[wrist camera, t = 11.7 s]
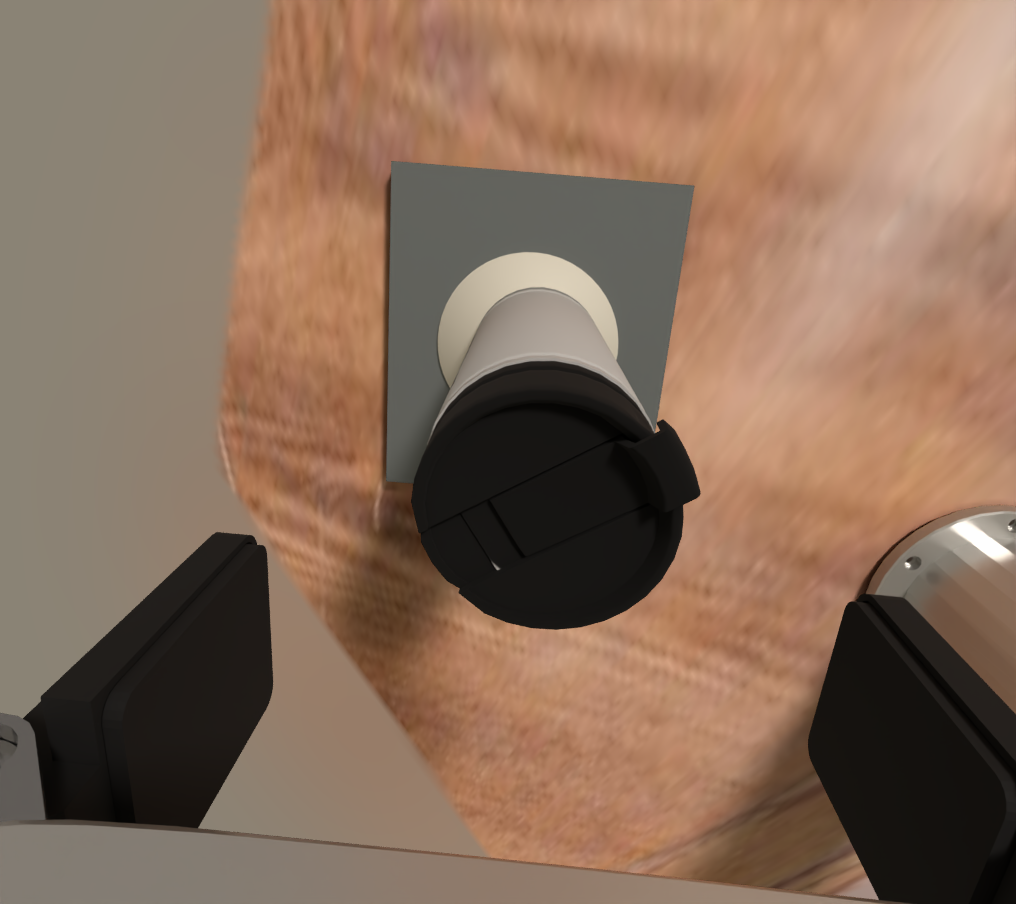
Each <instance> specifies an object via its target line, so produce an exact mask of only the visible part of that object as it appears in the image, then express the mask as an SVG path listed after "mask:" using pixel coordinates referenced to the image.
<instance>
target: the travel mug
mask: <svg viewBox="0 0 1016 904" xmlns="http://www.w3.org/2000/svg"><path fill="white" fill-rule="evenodd" d="M657 425H658V427H659V429H660V431H659V432H657V433H655V432H654V429H653V426H652V424H651V421H650V419H649V417H648V416H647V414H646V413H645V410H644V409H643V407H642V405H641V403H640V402H639V400H638V398H637V396H636V395H635V393H634V391H633V389H632V388H631V386H630V384H629V382H628V380H627V379H626V377H625V375H624V373H623V372H622V370H621V368H620V366H619V365H618V363H617V361H616V359H615V358H614V356H613V354H612V352H611V351H610V349H609V347H608V345H607V344H606V342H605V340H604V338H603V337H602V335H601V333H600V331H599V330H598V328H597V326H596V324H595V323H594V321H593V319H592V318H591V316H590V315H589V313H588V312H587V310H586V309H585V308H584V307H583V306H582V305H581V304H580V303H579V302H578V301H577V300H575V299H574V298H572V297H571V296H569V295H568V294H565V293H563V292H560V291H558V290H555V289H550V288H545V287H530V288H525V289H521V290H517V291H515V292H512V293H510V294H508V295H506V296H504V297H503V298H502V299H500V300H499V301H497V302H496V303H495V304H494V305H493V306H492V307H491V308H490V309H489V310H488V311H487V313H486V314H485V316H484V317H483V319H482V321H481V322H480V324H479V327H478V329H477V331H476V333H475V335H474V338H473V340H472V342H471V344H470V346H469V349H468V351H467V353H466V355H465V357H464V360H463V362H462V364H461V366H460V368H459V371H458V373H457V375H456V377H455V379H454V382H453V384H452V386H451V388H450V390H449V393H448V395H447V397H446V399H445V401H444V404H443V406H442V408H441V410H440V412H439V415H438V417H437V419H436V421H435V424H434V426H433V429H432V432H431V434H430V437H429V440H428V443H427V447H426V449H425V452H424V454H423V456H422V459H421V461H420V464H419V467H418V469H417V472H416V475H415V478H414V484H413V491H412V499H411V503H412V507H413V511H414V515H415V519H416V523H417V527H418V532H419V533H421V543H422V545H423V547H424V548H425V550H426V552H427V554H428V556H429V558H430V560H431V562H432V563H433V564H434V566H435V567H436V568H437V569H438V571H439V572H440V573H441V574H442V576H443V577H444V578H445V579H446V580H447V581H448V582H450V583H451V584H453V585H455V586H456V587H458V588H460V589H459V594H461V595H462V596H463V597H464V598H466V599H467V600H468V601H469V602H471V603H472V604H473V605H475V606H476V607H477V608H478V609H480V610H481V611H482V612H483V613H485V614H487V615H490V616H492V617H495V618H497V619H500V620H502V621H505V622H507V623H511V624H516V625H520V626H525V627H529V628H539V629H555V630H557V629H568V628H578V627H583V626H587V625H591V624H595V623H598V622H602V621H605V620H607V619H609V618H612V617H614V616H616V615H618V614H620V613H622V612H624V611H626V610H628V609H629V608H631V607H632V606H633V605H635V604H636V603H638V602H639V601H640V600H642V599H643V598H644V597H646V596H647V595H648V594H649V593H650V591H651V590H652V589H653V588H654V587H655V586H656V585H657V584H658V583H659V582H660V581H661V580H662V578H663V577H664V575H665V573H666V572H667V570H668V568H669V567H670V565H671V563H672V562H673V560H674V558H675V555H676V552H677V549H678V546H679V543H680V540H681V537H682V528H683V505H684V504H686V503H688V502H690V501H692V500H694V499H696V498H698V497H699V496H700V489H699V485H698V481H697V477H696V474H695V470H694V468H693V465H692V463H691V461H690V459H689V456H688V454H687V452H686V450H685V448H684V446H683V444H682V442H681V440H680V439H679V437H678V435H677V433H676V431H675V430H674V429H673V428H672V427H671V426H670V425H669V424H668V423H667V422H666V421H665V420H661V421H659V422H657Z"/></svg>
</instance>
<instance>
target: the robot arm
mask: <svg viewBox="0 0 1016 904" xmlns="http://www.w3.org/2000/svg"><path fill="white" fill-rule="evenodd" d="M268 587H269V586H268V566H267V551H266V548H265V547H264V546H263V545H257V542H256V540H255V538H254V537H253V536H252V535H242V534H230V533H221V532H216V533H215V534H213V535H212V536H211V537H210V538H209V539H207V540H206V541H205V542H204V543H203V544H202V545H201V546H200V547H199V548H198V549H197V550H196V551H195V552H194V553H193V554H192V555H190V557H189V558H187V559H186V560H185V561H184V562H183V563H182V564H181V565H180V566H179V567H178V568H177V569H176V570H175V571H173V572H172V573H171V574H170V575H169V576H168V577H167V578H166V579H165V580H164V581H163V582H162V583H161V584H160V585H159V586H158V587H157V588H155V589H154V590H153V591H152V592H151V593H150V594H149V595H148V596H147V597H146V598H145V599H144V600H143V601H142V602H141V603H140V604H139V605H138V606H136V607H135V608H134V609H133V610H132V611H131V612H130V613H129V614H128V615H127V616H126V617H125V618H124V619H123V620H122V621H120V622H119V623H118V624H117V625H116V626H115V627H114V628H113V629H112V630H111V631H110V632H109V633H108V634H107V635H106V636H105V637H103V638H102V639H101V640H100V641H99V642H98V643H97V644H96V645H95V646H94V647H93V648H92V649H91V650H90V651H89V652H88V653H86V654H85V655H84V656H83V657H82V658H81V659H80V660H79V661H78V662H77V663H76V664H75V665H74V666H73V667H72V668H71V669H69V670H68V671H67V672H66V673H65V674H64V675H63V676H62V677H61V678H60V679H59V680H58V681H57V682H56V683H55V684H54V685H52V686H51V687H50V688H49V689H48V690H47V691H46V692H45V693H44V694H43V695H42V696H41V702H40V703H39V704H38V705H37V706H36V707H35V708H33V710H31V711H30V712H29V713H28V714H27V715H26V716H25V717H24V718H23V719H22V718H20V717H19V716H15V715H9V714H4V713H0V904H1016V506H1009V505H991V506H979V507H974V508H969V509H965V510H960V511H957V512H954V513H951V514H949V515H946V516H943V517H941V518H938V519H936V520H934V521H932V522H930V523H929V524H927V525H925V526H923V527H921V528H920V529H918V530H916V531H915V532H914V533H912V534H911V535H910V536H908V537H907V538H906V539H905V540H903V541H902V542H901V543H899V544H898V545H897V546H896V547H895V549H894V550H893V551H892V552H891V553H890V554H889V555H888V556H887V557H886V558H885V559H884V560H883V562H882V563H881V565H880V566H879V568H878V569H877V571H876V573H875V574H874V576H873V577H872V579H871V582H870V584H869V587H868V589H867V592H866V594H863V595H861V596H860V597H859V598H858V599H857V601H856V602H853V601H852V602H849V603H848V604H847V606H846V608H845V610H844V614H843V617H842V621H841V624H840V628H839V631H838V635H837V638H836V642H835V645H834V649H833V652H832V656H831V660H830V663H829V667H828V670H827V674H826V677H825V681H824V684H823V688H822V691H821V695H820V698H819V702H818V706H817V709H816V713H815V716H814V720H813V723H812V727H811V730H810V734H809V739H808V750H809V756H810V759H811V762H812V764H813V766H814V768H815V770H816V772H817V774H818V776H819V778H820V780H821V782H822V785H823V787H824V789H825V791H826V793H827V795H828V797H829V799H830V801H831V803H832V805H833V807H834V809H835V811H836V813H837V815H838V817H839V819H840V821H841V823H842V825H843V827H844V829H845V831H846V833H847V835H848V837H849V839H850V841H851V844H852V846H853V848H854V850H855V852H856V854H857V856H858V858H859V860H860V862H861V864H862V866H863V868H864V870H865V872H866V874H867V876H868V878H869V880H870V882H871V884H872V886H873V888H874V890H875V892H876V894H877V896H878V898H879V900H873V899H864V898H856V897H847V896H838V895H829V894H821V893H812V892H803V891H794V890H785V889H776V888H767V887H758V886H749V885H740V884H731V883H722V882H714V881H705V880H695V879H686V878H677V877H667V876H658V875H649V874H639V873H630V872H621V871H611V870H602V869H593V868H583V867H574V866H564V865H555V864H545V863H536V862H526V861H517V860H507V859H498V858H488V857H478V856H469V855H459V854H449V853H439V852H429V851H419V850H409V849H399V848H389V847H379V846H368V845H359V844H349V843H339V842H329V841H319V840H309V839H299V838H289V837H279V836H268V835H259V834H249V833H239V832H229V831H219V830H208V829H199V828H198V827H199V825H200V823H201V822H202V820H203V818H204V817H205V815H206V813H207V811H208V809H209V808H210V806H211V804H212V803H213V801H214V799H215V797H216V795H217V794H218V792H219V790H220V789H221V787H222V785H223V783H224V782H225V780H226V778H227V776H228V775H229V773H230V771H231V769H232V768H233V766H234V764H235V762H236V761H237V759H238V757H239V755H240V754H241V752H242V750H243V748H244V747H245V745H246V743H247V741H248V740H249V738H250V736H251V734H252V733H253V731H254V729H255V727H256V726H257V724H258V722H259V720H260V719H261V717H262V715H263V714H264V712H265V710H266V708H267V706H268V704H269V701H270V698H271V694H272V689H273V671H272V651H271V650H272V649H271V630H270V607H269V588H268Z"/></svg>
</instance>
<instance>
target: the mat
mask: <svg viewBox="0 0 1016 904" xmlns="http://www.w3.org/2000/svg"><path fill="white" fill-rule="evenodd" d="M693 191H694V186H691V185H679V184H667V183H654V182H642V181H630V180H618V179H605V178H593V177H581V176H569V175H556V174H544V173H532V172H520V171H507V170H495V169H483V168H470V167H458V166H446V165H434V164H421V163H409V162H397V161H391V217H390V279H389V342H388V404H387V466H386V481H390V482H402V483H414V478H415V475H416V472H417V469H418V467H419V464H420V461H421V459H422V456H423V454H424V452H425V449H426V447H427V443H428V440H429V437H430V434H431V432H432V429H433V426H434V424H435V421H436V419H437V417H438V415H439V412H440V410H441V408H442V406H443V404H444V401H445V399H446V397H447V395H448V393H449V390H450V388H451V386H452V384H453V382H454V379H455V377H456V375H457V373H458V371H459V368H460V366H461V364H462V362H463V360H464V357H465V355H466V353H467V351H468V349H469V346H470V344H471V342H472V340H473V338H474V335H475V333H476V331H477V329H478V327H479V324H480V322H481V321H482V319H483V317H484V316H485V314H486V313H487V311H488V310H489V309H490V308H491V307H492V306H493V305H494V304H495V303H496V302H497V301H499V300H500V299H502V298H503V297H504V296H506V295H508V294H510V293H512V292H515V291H517V290H521V289H525V288H530V287H545V288H550V289H555V290H558V291H560V292H563V293H565V294H568V295H569V296H571V297H572V298H574V299H575V300H577V301H578V302H579V303H580V304H581V305H582V306H583V307H584V308H585V309H586V310H587V312H588V313H589V315H590V316H591V318H592V319H593V321H594V323H595V324H596V326H597V328H598V330H599V331H600V333H601V335H602V337H603V338H604V340H605V342H606V344H607V345H608V347H609V349H610V351H611V352H612V354H613V356H614V358H615V359H616V361H617V363H618V365H619V366H620V368H621V370H622V372H623V373H624V375H625V377H626V379H627V380H628V382H629V384H630V386H631V388H632V389H633V391H634V393H635V395H636V396H637V398H638V400H639V402H640V403H641V405H642V407H643V409H644V410H645V413H646V414H647V416H648V417H649V419H650V421H651V424H652V426H653V429H654V432H655V429H656V423H657V416H658V410H659V404H660V398H661V391H662V385H663V379H664V373H665V366H666V360H667V354H668V348H669V341H670V335H671V329H672V323H673V316H674V310H675V304H676V297H677V291H678V285H679V279H680V272H681V266H682V260H683V254H684V247H685V241H686V235H687V229H688V222H689V216H690V210H691V204H692V197H693Z"/></svg>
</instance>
